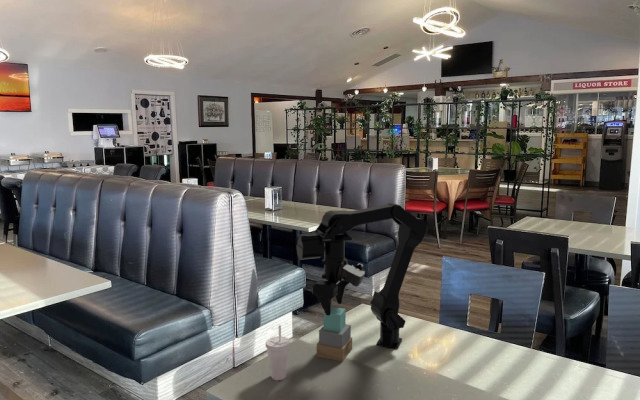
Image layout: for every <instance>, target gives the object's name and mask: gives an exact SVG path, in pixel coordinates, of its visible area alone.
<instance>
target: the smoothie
mask: <svg viewBox="0 0 640 400" xmlns="http://www.w3.org/2000/svg"><path fill="white" fill-rule="evenodd" d="M290 346H291V340H290V339H289V338H288V337H286V336H282V325H280V324H279V325H278V336H277V335H276V336H272V337H270V338H268V339H266V341H265V348H266V350H267V357H268V362H269V363H268V364H269V370H270V376H271V379H272V380H275V381H281V380H284V379H285V378H286V376H287V366H288V357H289V351H290V350H289V348H290Z"/></svg>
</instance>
